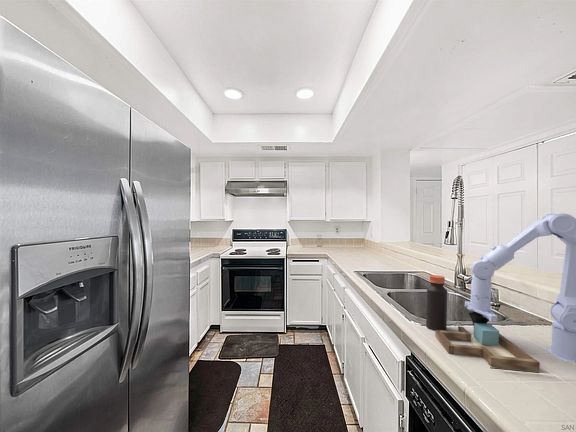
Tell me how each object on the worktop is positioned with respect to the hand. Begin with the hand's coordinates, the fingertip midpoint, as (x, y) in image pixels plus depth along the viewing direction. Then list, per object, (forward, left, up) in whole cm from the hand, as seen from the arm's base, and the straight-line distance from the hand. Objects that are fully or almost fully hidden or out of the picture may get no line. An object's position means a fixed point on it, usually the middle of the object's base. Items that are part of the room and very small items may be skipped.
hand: (478, 334), depth 98 cm
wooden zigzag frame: (+4, +8, -2) cm, 9 cm away
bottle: (+12, -6, -2) cm, 13 cm away
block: (-1, +3, -1) cm, 3 cm away
